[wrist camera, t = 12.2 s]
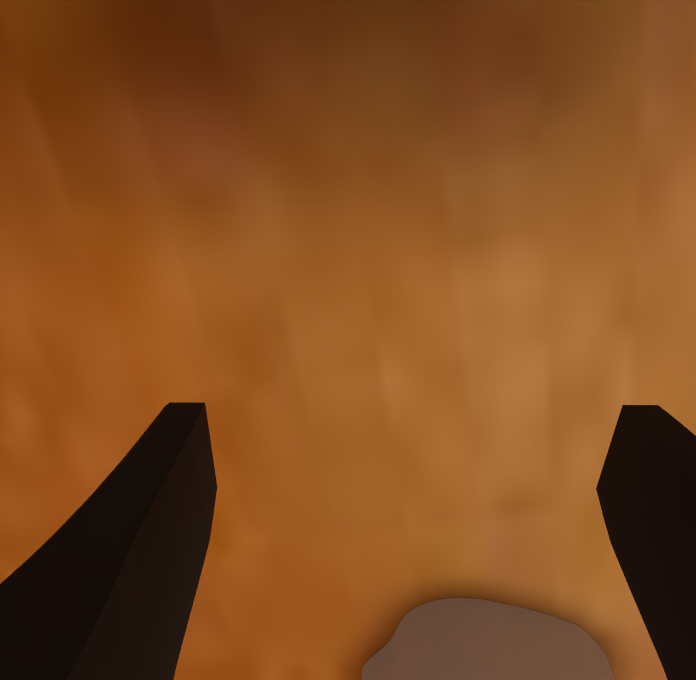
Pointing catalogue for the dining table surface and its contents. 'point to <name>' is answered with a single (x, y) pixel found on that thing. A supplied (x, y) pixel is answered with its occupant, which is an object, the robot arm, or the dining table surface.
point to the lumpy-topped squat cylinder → (486, 645)
